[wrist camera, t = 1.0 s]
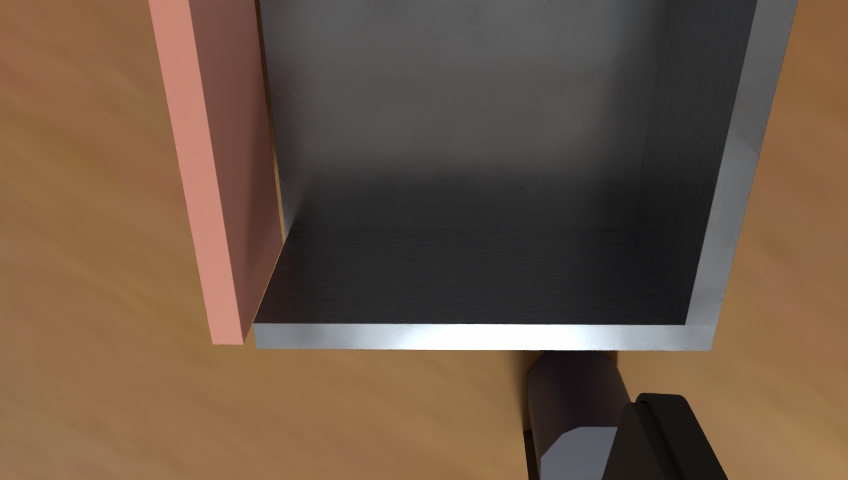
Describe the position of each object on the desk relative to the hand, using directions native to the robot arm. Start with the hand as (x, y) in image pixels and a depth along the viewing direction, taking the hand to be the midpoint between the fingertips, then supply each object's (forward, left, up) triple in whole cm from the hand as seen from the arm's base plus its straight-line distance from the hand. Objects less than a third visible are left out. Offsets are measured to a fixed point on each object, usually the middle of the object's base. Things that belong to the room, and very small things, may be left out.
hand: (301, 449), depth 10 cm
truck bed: (-4, -2, -25) cm, 25 cm away
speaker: (-10, +20, -25) cm, 34 cm away
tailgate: (+5, -2, -22) cm, 23 cm away
